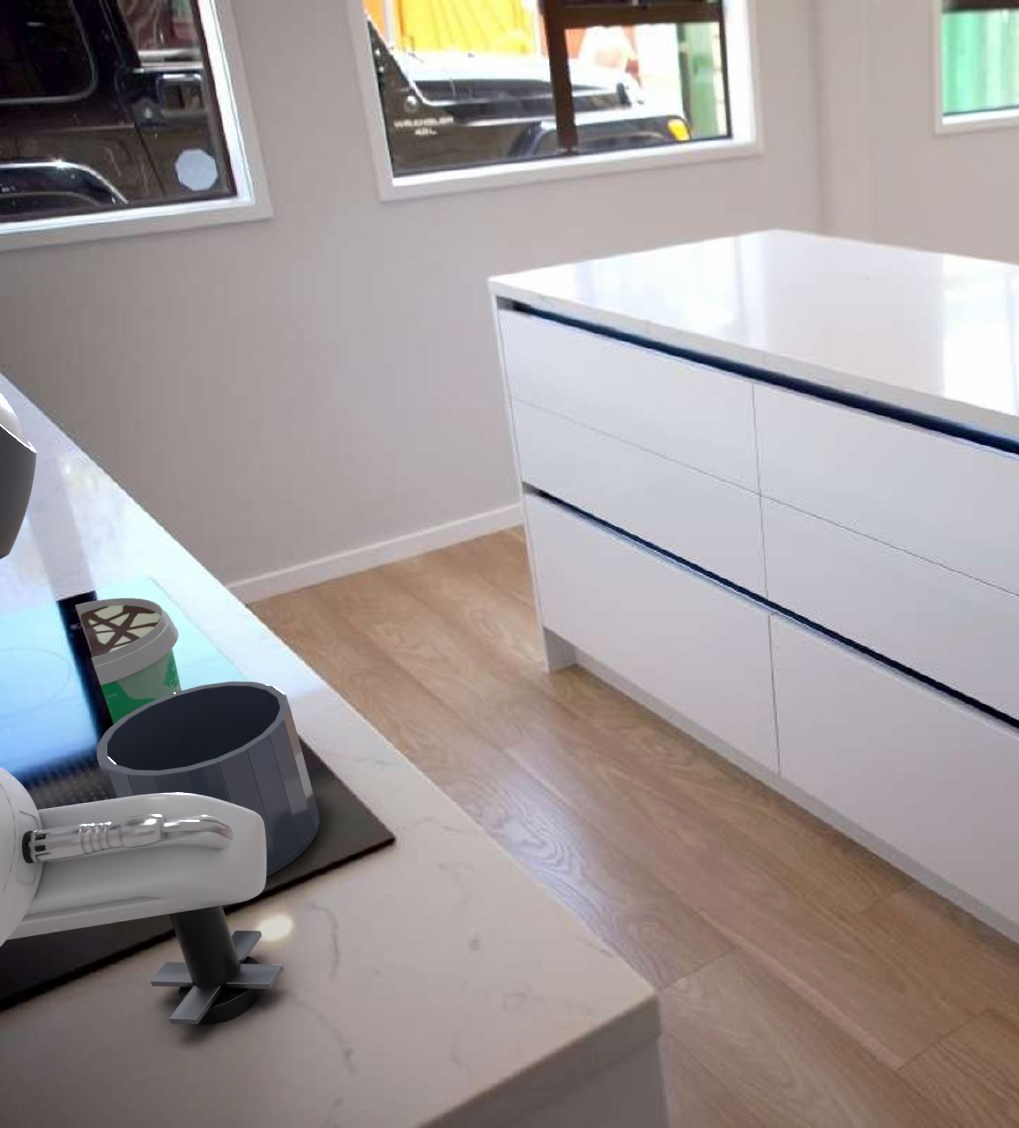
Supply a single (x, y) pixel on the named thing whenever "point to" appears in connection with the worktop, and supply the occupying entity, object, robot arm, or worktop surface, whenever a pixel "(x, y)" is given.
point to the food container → (130, 651)
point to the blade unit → (214, 968)
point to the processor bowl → (219, 758)
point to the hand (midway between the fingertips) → (72, 908)
